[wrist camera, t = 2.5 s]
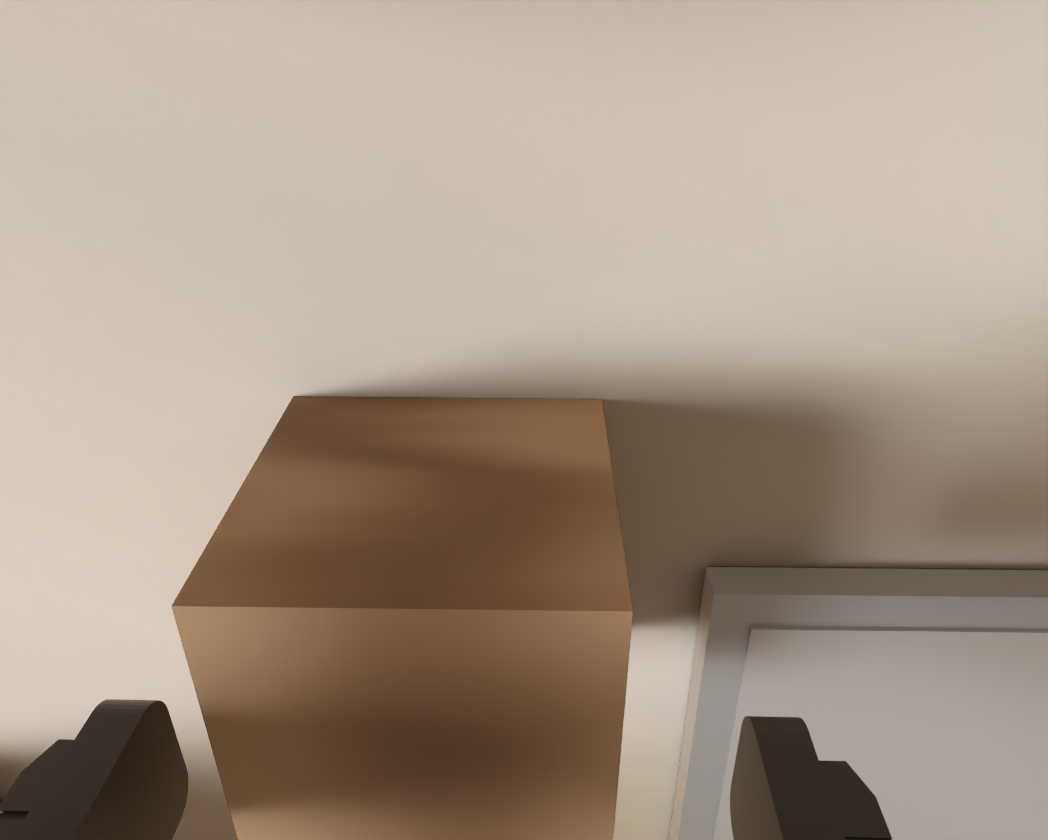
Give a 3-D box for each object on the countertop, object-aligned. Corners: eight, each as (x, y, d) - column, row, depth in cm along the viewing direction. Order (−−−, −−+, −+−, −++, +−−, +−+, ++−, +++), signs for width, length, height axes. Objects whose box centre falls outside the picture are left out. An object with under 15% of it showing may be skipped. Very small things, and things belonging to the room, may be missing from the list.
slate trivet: (664, 867, 21) (669, 902, 20) (706, 567, 16) (714, 597, 15) (1053, 873, 21) (1073, 908, 20) (1215, 571, 16) (1251, 603, 15)
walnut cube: (330, 623, 17) (248, 879, 12) (294, 394, 14) (171, 605, 10) (589, 626, 17) (608, 885, 12) (601, 397, 14) (632, 611, 9)
